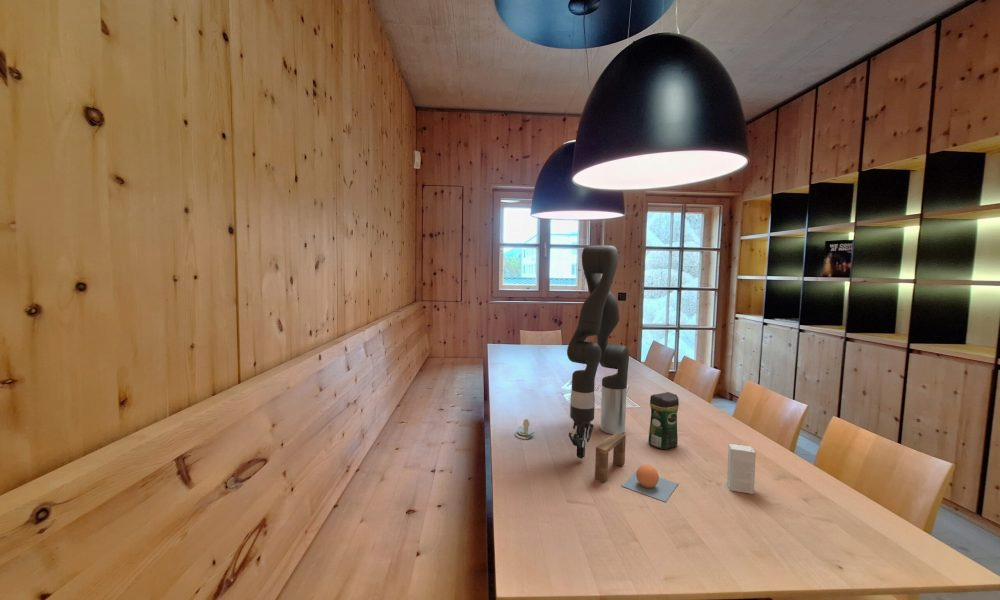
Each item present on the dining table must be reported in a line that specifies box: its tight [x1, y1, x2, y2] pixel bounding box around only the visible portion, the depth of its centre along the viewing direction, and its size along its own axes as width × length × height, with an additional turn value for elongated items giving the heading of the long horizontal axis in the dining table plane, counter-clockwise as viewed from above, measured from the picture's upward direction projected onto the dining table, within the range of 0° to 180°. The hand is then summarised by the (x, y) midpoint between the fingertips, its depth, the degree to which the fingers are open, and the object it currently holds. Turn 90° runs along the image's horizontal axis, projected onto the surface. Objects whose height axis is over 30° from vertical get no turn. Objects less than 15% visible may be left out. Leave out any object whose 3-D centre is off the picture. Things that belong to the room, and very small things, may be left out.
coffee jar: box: [648, 391, 680, 450], centre depth 141 cm, size 10×8×19 cm
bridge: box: [594, 432, 627, 484], centre depth 121 cm, size 3×15×10 cm, turn 141°
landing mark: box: [621, 470, 679, 503], centre depth 114 cm, size 12×12×1 cm
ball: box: [635, 464, 660, 488], centre depth 113 cm, size 6×6×6 cm
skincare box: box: [726, 443, 757, 495], centre depth 112 cm, size 6×4×12 cm
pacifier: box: [514, 418, 535, 440], centre depth 147 cm, size 7×6×6 cm
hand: (580, 457), depth 127 cm, fingers closed
